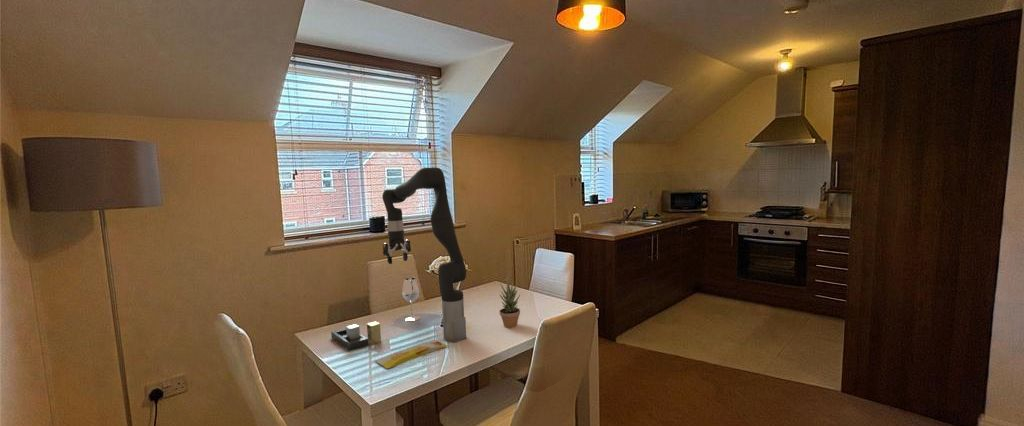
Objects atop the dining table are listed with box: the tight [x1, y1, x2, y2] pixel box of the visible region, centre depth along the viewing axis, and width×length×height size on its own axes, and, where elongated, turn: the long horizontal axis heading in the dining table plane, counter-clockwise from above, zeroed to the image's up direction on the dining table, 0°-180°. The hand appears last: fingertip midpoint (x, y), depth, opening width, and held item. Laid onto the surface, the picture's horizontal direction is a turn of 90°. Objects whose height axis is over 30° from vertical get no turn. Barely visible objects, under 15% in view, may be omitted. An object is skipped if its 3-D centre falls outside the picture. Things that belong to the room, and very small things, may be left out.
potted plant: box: [498, 273, 521, 329], centre depth 197 cm, size 10×10×25 cm
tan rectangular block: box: [366, 321, 382, 345], centre depth 184 cm, size 4×4×8 cm
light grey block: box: [345, 323, 361, 342], centre depth 181 cm, size 4×4×8 cm
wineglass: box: [402, 277, 421, 322], centre depth 211 cm, size 8×8×20 cm
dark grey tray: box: [330, 327, 370, 352], centre depth 185 cm, size 20×8×3 cm, turn 42°
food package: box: [374, 339, 448, 369], centre depth 170 cm, size 27×2×10 cm
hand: (397, 262), depth 213 cm, fingers open, 8 cm apart
